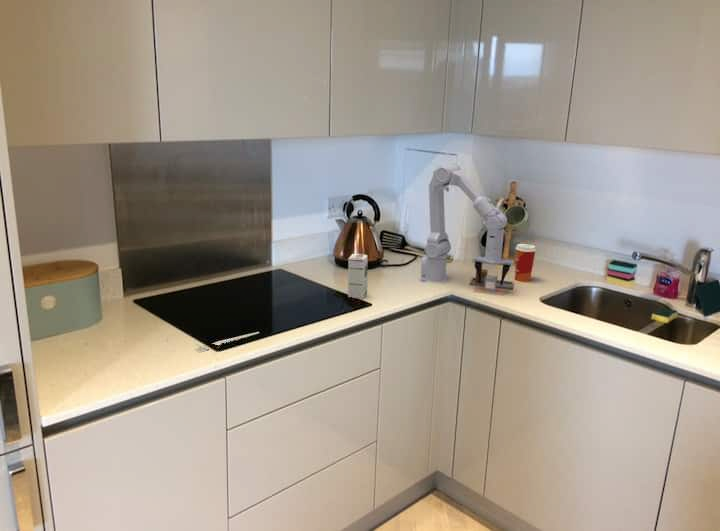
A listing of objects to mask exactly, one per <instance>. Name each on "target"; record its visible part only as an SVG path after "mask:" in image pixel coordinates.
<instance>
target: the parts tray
mask: <svg viewBox="0 0 720 531" xmlns="http://www.w3.org/2000/svg"><path fill="white" fill-rule="evenodd" d="M475 278H476V277H473V276H472V277H471V278H470V282H469V286H473V287H474V286H483V287H484V285H485V284H479V283H475ZM500 283H501V279H497V284H496V288H500V289H506V290H510V291H513V288H514V281H507V280H504V281H503V284H502V285H500Z"/></svg>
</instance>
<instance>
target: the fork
mask: <svg viewBox="0 0 720 531" xmlns="http://www.w3.org/2000/svg"><path fill="white" fill-rule="evenodd" d="M257 334H260V332H259V331H257V332H252V333H248V334H243V335H239V336H236V337H232V338H226V339H222V340H218V341H215V342H213V343H212V344H215V345H218V346H219V345H220V346H221V345H223V344H222V343H224V344H226V342H227V343H230V341H231V342H234V340H235V341H238V340H241V338H242V339H244V338H248V337H250V336H254V335H257ZM205 345H206V344H205ZM205 345H201V344H197V343H196V344H195V346H198V347H199V348H201V349H204V350H208V349H210V348H208V347H205ZM220 346H219V347H220ZM208 351H209V350H208Z"/></svg>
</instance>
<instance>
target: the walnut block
mask: <svg viewBox="0 0 720 531" xmlns="http://www.w3.org/2000/svg"><path fill="white" fill-rule="evenodd" d="M488 272H489V269H485V268H484V269H483V268H482V272H481V283H479V279H478V274H477V271H476V270H475V277H474V278H475V283H479V284H485V277H486V275H488Z"/></svg>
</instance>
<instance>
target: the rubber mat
mask: <svg viewBox="0 0 720 531" xmlns="http://www.w3.org/2000/svg"><path fill="white" fill-rule="evenodd" d="M506 291H507V289H500V288H496V291H495V292H486V291H484V287H483V286H475V287H474V290H473V292H474V293H479V294H489V295H495V296H496V295H497V296H504V297H505V296H506Z"/></svg>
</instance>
